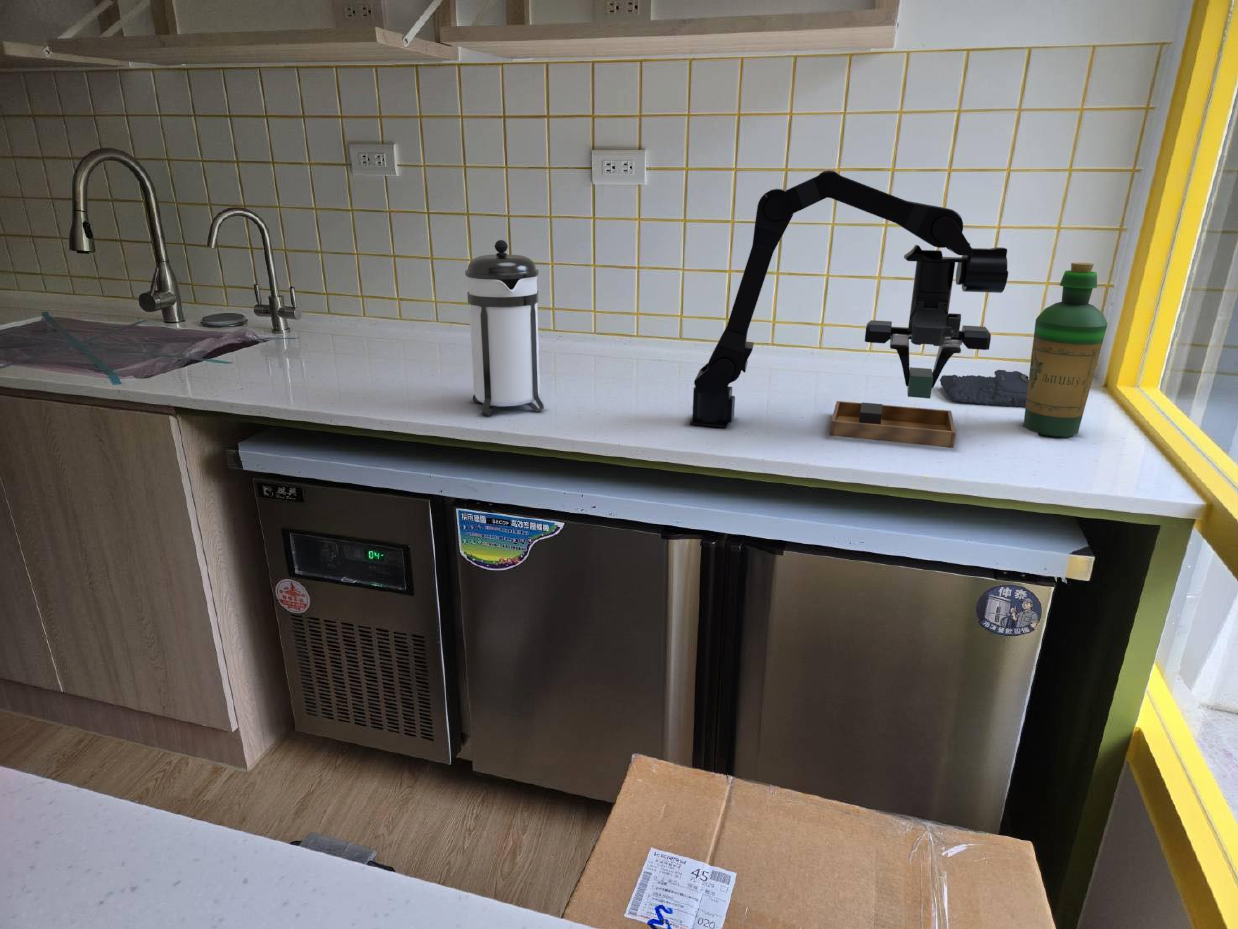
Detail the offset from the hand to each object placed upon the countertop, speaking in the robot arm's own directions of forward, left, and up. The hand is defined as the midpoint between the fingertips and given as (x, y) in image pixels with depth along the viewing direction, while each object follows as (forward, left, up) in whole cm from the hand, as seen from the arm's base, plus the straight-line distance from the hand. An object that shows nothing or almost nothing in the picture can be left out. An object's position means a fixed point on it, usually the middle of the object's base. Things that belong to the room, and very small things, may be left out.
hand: (919, 386), depth 135 cm
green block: (0, 0, -1) cm, 1 cm away
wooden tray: (-4, 0, -8) cm, 9 cm away
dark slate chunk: (+16, +32, -8) cm, 37 cm away
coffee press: (-73, -6, -8) cm, 73 cm away
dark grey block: (-7, 0, -8) cm, 11 cm away
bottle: (+22, +10, -8) cm, 26 cm away
